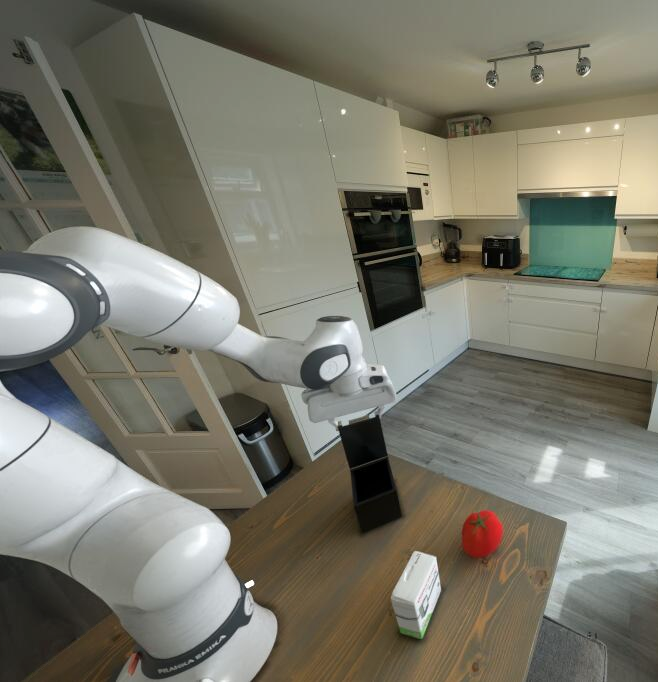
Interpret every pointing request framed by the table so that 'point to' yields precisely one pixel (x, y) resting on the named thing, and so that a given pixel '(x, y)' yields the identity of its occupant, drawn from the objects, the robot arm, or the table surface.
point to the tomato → (481, 534)
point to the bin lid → (363, 440)
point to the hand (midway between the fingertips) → (359, 423)
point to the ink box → (416, 594)
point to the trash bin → (374, 494)
